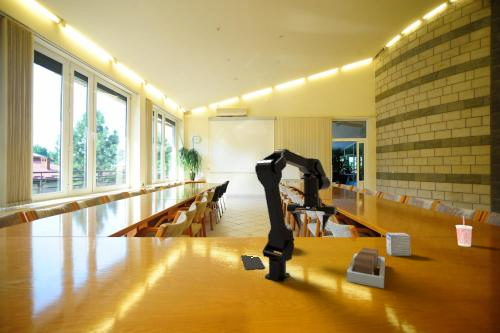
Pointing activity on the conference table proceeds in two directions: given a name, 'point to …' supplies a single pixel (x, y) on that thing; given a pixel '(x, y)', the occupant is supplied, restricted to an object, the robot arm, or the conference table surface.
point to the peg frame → (367, 275)
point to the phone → (252, 262)
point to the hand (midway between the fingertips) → (311, 230)
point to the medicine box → (398, 244)
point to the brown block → (366, 261)
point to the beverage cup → (464, 234)
